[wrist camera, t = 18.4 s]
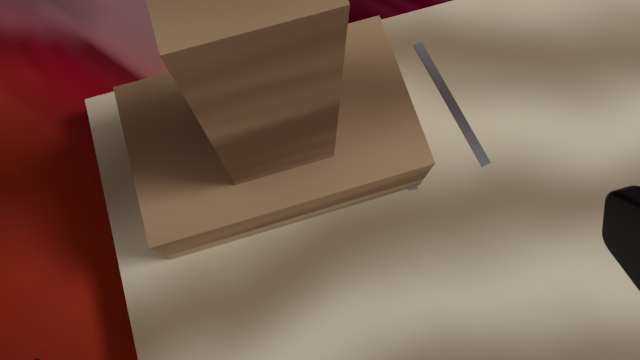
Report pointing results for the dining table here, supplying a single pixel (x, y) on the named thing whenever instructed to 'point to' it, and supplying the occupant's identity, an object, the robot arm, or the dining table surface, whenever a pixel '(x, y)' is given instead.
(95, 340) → the dining table surface
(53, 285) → the dining table surface
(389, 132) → the block
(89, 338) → the dining table surface
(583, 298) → the birch board
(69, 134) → the dining table surface
